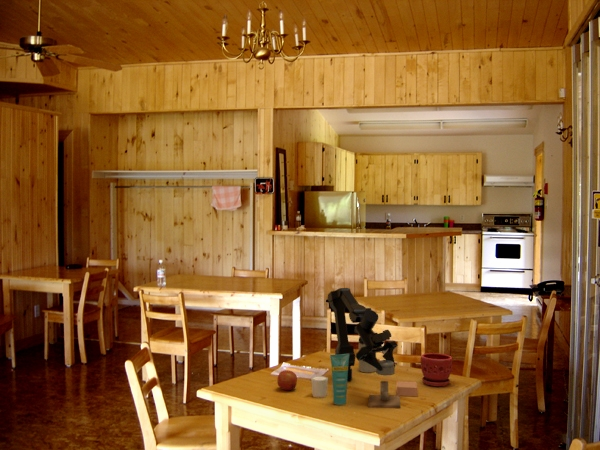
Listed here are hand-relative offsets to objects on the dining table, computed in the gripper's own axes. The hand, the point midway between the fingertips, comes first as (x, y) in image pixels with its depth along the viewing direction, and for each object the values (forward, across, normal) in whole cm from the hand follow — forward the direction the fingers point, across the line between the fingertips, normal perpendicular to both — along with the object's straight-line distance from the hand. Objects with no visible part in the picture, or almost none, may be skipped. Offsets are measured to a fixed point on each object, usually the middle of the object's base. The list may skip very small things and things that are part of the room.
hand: (388, 368), depth 232 cm
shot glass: (-8, -14, +27) cm, 31 cm away
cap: (0, 0, +2) cm, 2 cm away
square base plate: (+8, -1, +10) cm, 13 cm away
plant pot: (+7, +35, +13) cm, 38 cm away
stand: (+7, +15, +12) cm, 20 cm away
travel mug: (-17, +27, +36) cm, 48 cm away
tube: (+1, -14, +18) cm, 23 cm away
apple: (-18, -19, +37) cm, 45 cm away
